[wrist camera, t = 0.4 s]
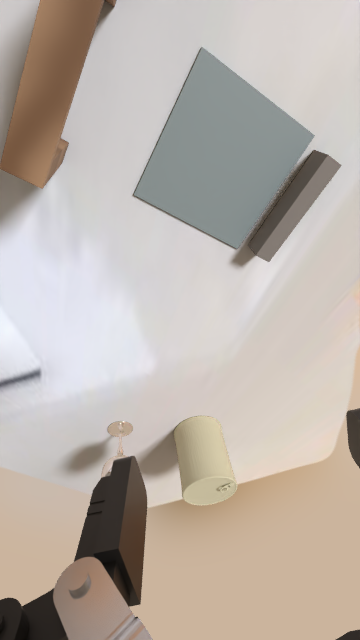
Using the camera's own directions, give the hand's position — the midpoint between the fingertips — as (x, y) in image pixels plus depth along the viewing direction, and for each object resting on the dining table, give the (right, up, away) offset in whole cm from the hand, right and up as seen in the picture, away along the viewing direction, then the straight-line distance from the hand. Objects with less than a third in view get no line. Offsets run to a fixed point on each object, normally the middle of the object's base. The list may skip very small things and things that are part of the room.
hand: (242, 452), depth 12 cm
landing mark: (+2, +21, +22) cm, 31 cm away
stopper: (+10, +18, +26) cm, 33 cm away
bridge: (-12, +27, +16) cm, 33 cm away
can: (+1, -16, +50) cm, 52 cm away
